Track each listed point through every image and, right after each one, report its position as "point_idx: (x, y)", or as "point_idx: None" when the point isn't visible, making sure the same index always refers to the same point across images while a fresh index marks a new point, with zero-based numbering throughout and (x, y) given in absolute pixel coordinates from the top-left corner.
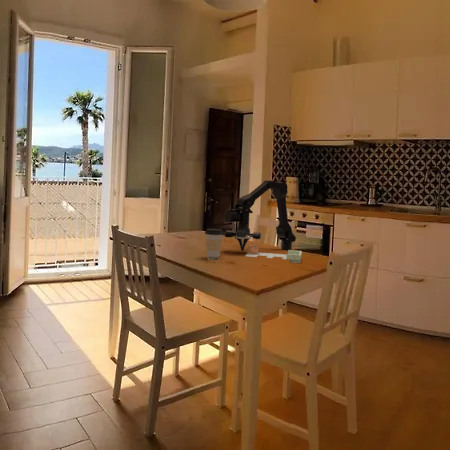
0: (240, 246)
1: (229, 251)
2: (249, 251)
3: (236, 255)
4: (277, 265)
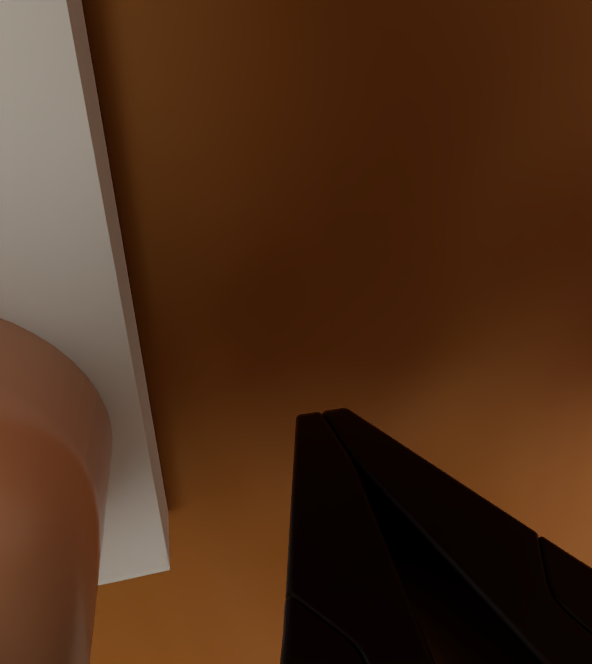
0: (468, 493)
1: None
2: (13, 382)
3: (420, 291)
4: None
